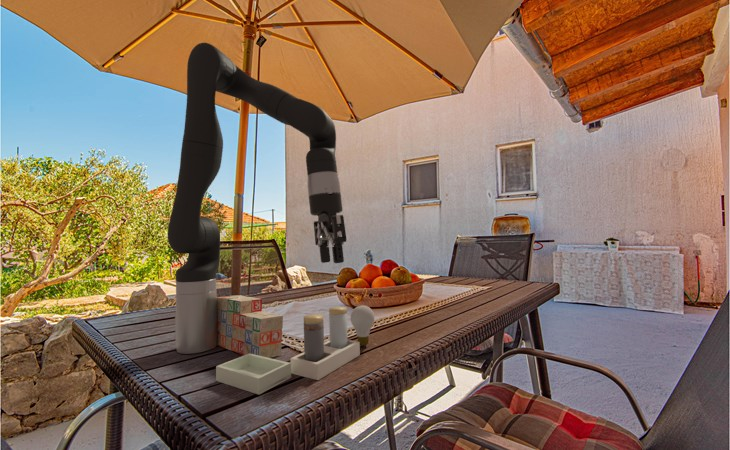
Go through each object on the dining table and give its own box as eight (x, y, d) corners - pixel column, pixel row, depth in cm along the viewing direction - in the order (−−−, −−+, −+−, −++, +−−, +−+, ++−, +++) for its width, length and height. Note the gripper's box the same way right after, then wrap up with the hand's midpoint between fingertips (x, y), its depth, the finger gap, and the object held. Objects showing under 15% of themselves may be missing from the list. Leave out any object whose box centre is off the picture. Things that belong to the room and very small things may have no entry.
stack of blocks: (282, 355, 79) (283, 302, 80) (258, 362, 74) (260, 305, 76) (236, 339, 93) (238, 294, 94) (213, 344, 89) (216, 296, 90)
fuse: (326, 358, 76) (325, 309, 76) (337, 353, 79) (336, 305, 80) (341, 361, 74) (339, 311, 74) (351, 355, 77) (350, 307, 78)
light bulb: (372, 351, 80) (371, 308, 80) (348, 350, 81) (347, 308, 82) (377, 343, 86) (375, 303, 86) (354, 342, 87) (353, 303, 87)
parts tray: (216, 380, 66) (216, 366, 66) (249, 366, 73) (249, 353, 73) (258, 394, 60) (258, 378, 60) (291, 377, 66) (290, 363, 67)
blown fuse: (300, 372, 69) (299, 317, 69) (313, 365, 72) (312, 313, 72) (316, 376, 67) (314, 320, 67) (328, 369, 70) (327, 315, 70)
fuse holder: (290, 373, 69) (290, 358, 69) (335, 350, 81) (334, 337, 81) (317, 380, 65) (317, 364, 65) (359, 355, 78) (359, 341, 78)
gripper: (300, 199, 84) (307, 264, 84) (319, 188, 72) (327, 265, 71) (329, 198, 88) (335, 260, 87) (351, 187, 75) (359, 260, 74)
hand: (332, 262), depth 79 cm, fingers open, 8 cm apart
